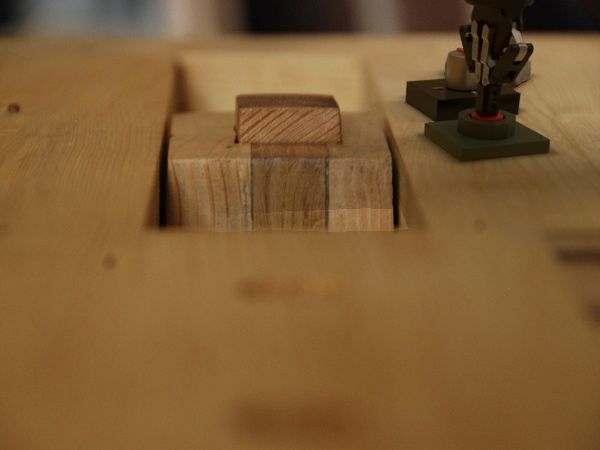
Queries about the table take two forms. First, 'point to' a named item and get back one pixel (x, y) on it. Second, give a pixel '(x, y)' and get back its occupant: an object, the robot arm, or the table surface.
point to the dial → (459, 72)
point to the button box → (485, 137)
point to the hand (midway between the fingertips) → (486, 115)
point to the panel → (451, 99)
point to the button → (478, 117)
